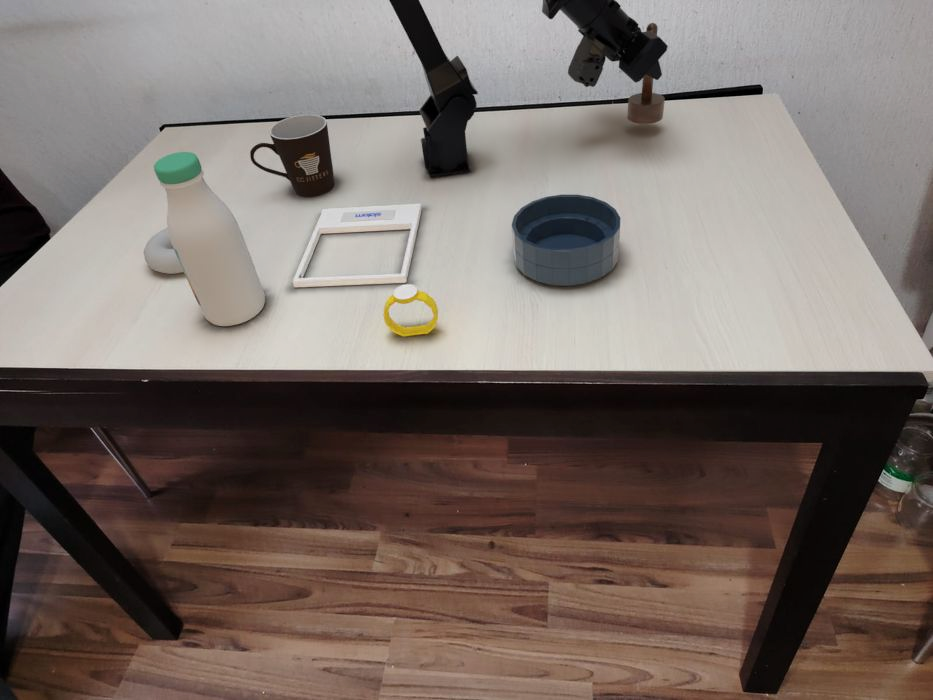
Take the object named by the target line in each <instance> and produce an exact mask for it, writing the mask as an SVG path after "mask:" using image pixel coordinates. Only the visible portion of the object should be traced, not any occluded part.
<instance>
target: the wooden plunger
mask: <svg viewBox="0 0 933 700" xmlns="http://www.w3.org/2000/svg"><path fill="white" fill-rule="evenodd" d="M658 28H659V27H658V25H657V23H654V22H650V23H649V24H647V26H646V31H651V32H652V33H654V34H655V35H657V36H658V31H659V29H658ZM646 31H645V32H646ZM653 86H654V78H652V77H650V76H648V75H645V76H644V77H643V78H642V82H641V92H639V93H635V94H632V95H630V96H629V97H628V99H627V120H628V121H629V122H631V123H634V124H639V125H649V124H650V125H651V124H655V123H658V122H661V121H662V120H663V118H664V109H665V102H666V101H665V99H666V98H665V96H664V95H662V94H659V93H655V92H653Z"/></svg>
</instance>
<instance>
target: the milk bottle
mask: <svg viewBox="0 0 933 700" xmlns="http://www.w3.org/2000/svg"><path fill="white" fill-rule="evenodd" d="M202 168H203V167H202V165H201V162H200V159H199V157H198V155H197V154H195V153H193V152H190V151H179V152H173V153H170V154H167V155H165V156H163V157H161V158H160V159H158V160H157V161H156V162H155V163H154V165H153V170H154V174H155V176H156V178H157V180H158V181H159V185H160V186H161V187H162V188H164V190H165V194H166V199H167V216H166V225H167V226H166V228H168V234H169V237H170V241H171V243H172V246H173V248H174V251H175V253H176V256H177V258H178V260H179V262H180V265H181V267H182V269H183V271H184V272H183V274H184V275H185V278H186V280H187V282H188V284H189V287H190V289H191V291H192V294H193V295H194V297H195V300H196V302H197V304H198V306H199V310H201V312H202V314H203V317H204V318H205V320H206V321H208V322H209V323H211V325H212V324H213V325H214V326H220V327H231V326H237V325H239V324H243V323H246V322H248V321H250V320H252V319H253V318H255V317H256V316H257V315H258V314H260V313H261V311H262V310H263V308H264V307H265V303H266V295H265V291H264V289H263V286H262V282H261V281H260V278H259V275H258V273H257V270H256V266H255V264H254V262H253V259H252V256H251V253H250V251H249V249H248V245H247V243H246V241H245V238H244V235H243V233H242V231H241V228H240V226H239V223H238V221H237V218H236V217H235V215H234V213H233V212H232V211H231V209H230V208H229V206H228V205H227V204H226V203H225V202H224V200H222V199H221V198H220V197H219V196H218V195H217V194H216V193H215V192H214V191H213V190H212V188H211V187H210V186H209V185H208V183H207V182H206V180H205V178H204V175H205V172H204V170H203V169H202Z"/></svg>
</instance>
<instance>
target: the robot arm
mask: <svg viewBox="0 0 933 700" xmlns="http://www.w3.org/2000/svg"><path fill="white" fill-rule="evenodd" d="M388 1H389V3H390V5H391V7H392V8H393V11H394V13H395V15H396V16H397V19H398V21H399V22H400V24H401V26H402V29H403V30H404V32H405V34H406V36H407V38H408V40H409V42H410V44H411V45H412V47H413V50H414V52H415V54H416V55H417V57H418V59H419V61H420V63H421V66H422V70H423V73H424V77H425V80H426V84H427V87H428V90H429V96H428V98H427V99H426V101H425V102H424V103H423V104H422V106H420V108H419V113H420V116H421V118H422V121H423V124H424V125H425V127H423V128H422V132H423V137H422V138H421V139H420V145H421V150H422V151H421V152H422V156H423V164H424V170H427V171H428V175H429V176H428V177H429V178H438V177H444V176H445V177H446V176H451V175H452V176H453V175H459V174H466V173H469V172H471V165H470V162H469V157H468V148H467V147H468V146H467V138H466V137H467V136H466V129H467V127H468V123H469V121H470V120H471V119H472V118H473V116H474V115H475V113H476V110H477V104H478V103H477V99H476V97H475V95H478V94H479V92H478V90H477V89H476V87H475V86H474V84H473V82H472V80H471V79H470V77H469V73H468V70H467V68H466V66H465V64H464V63H463V61H462V60H461V57H460V56H459V55H456V56H455V57H454V58H452V59H451V60H450V59H449V57H448V56H447V54H446V53H445V51H444V49H443V46H442V45H441V42H440V40H439V38H438V37H437V34H436V32H435V31H434V28H433V26H432V24H431V22H430V20H429V18H428V15H427V14H426V11H425V9H424V7H423V5H422V4H421V2H420V0H388ZM621 7H622V6H621V4H619V2H618V1H617V0H542V7H541V12H542V14H543V15H544V16H546V18H548V20H554V18H555V16H556V15H557V14H558V13H559V11H560V12H561V13H562V14H564V15H565V16H566V17H567V18H568V19H569V20H570V21H571V22H572V23H573V24H574V26H576V27H577V29H578V30H577V31H578V32H579V33H580V35H582V38H581V40H580V42H579V44H578V45H577V47H576V49H575V52H574V54H573V56H572V59H571V61H570V63H569V66H568V68H567V69H568V70H567V75H568V76H569V77H570V78H571V79H572V80H573V81H574V82H576V83H579V84H582V85H583V86H584V87H585V88H588V87H592V88H594V87H595V86H596V85H597V83H598V82H599V79H600V77H601V75H602V73H603V70H604V65H605V63H606V58H607V59H608V60H609V61H610V62H612V63H614V62H618V69H620V70H621V71H622V72H623V73H624V74H625V75H626V76H627V77H628V78H629V79H631V80H632V82H634V83H636V84H637V83H638V82H640V81H641V80H643V77H644V76H645V75H648V76H650V77H652V78H653V80H655V81H658V80H660V78H661V77H662V76H663V72H662V68H661V65H660V59H661V58H662V57H663V55H664V54H665V53H666V52H667V50H668V47H669V46H668V44H667V43H666V42H665V41H664V40H663V39H662V38H661V37H660V36H659V35H658V34H657V35H655V34H654V33H652V32H651V31H642V29H641V27H639V23H638V22H637V21H636V20H635V19H634V18H632V17H631V16H629V15H628V14H627V13H626V12H625V11H624V9H622V8H621Z"/></svg>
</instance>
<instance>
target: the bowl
mask: <svg viewBox="0 0 933 700" xmlns="http://www.w3.org/2000/svg"><path fill="white" fill-rule="evenodd" d="M620 236H621V216H620V215H619V213H618V211H617V209H616V208H615V207H613V206H612V205H610V204H609V203H608V202H606V201H604V200H602V199H599V198H596V197H593V196H588V195H582V194H556V195H550V196H545V197H542V198H539V199H535V200H532V201H529V203H527V204H526V205H523V206H522V207H521V208H519V210H517V212H516V213H515V214H514V216H513V218H512V222H511V237H512V238H511V239H512V255H513V260H514V264H515V267H516V268H517V269H518V270H519V271H520V272H521V273H522V274H523V276H525V277H528V278H529V279H531V280H533V281H535V282H539V283H542V284H547V285H551V286H567V287H569V286H578V285H584V284H588V283H591V282H594V281H596V280H599V279H601V278H603V277H604V276H605V275H607V274H608V273H610V272H611V271H612V270H613V269H614V268H615V266H616V264H617V263H618V261H619V249H620Z"/></svg>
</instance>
